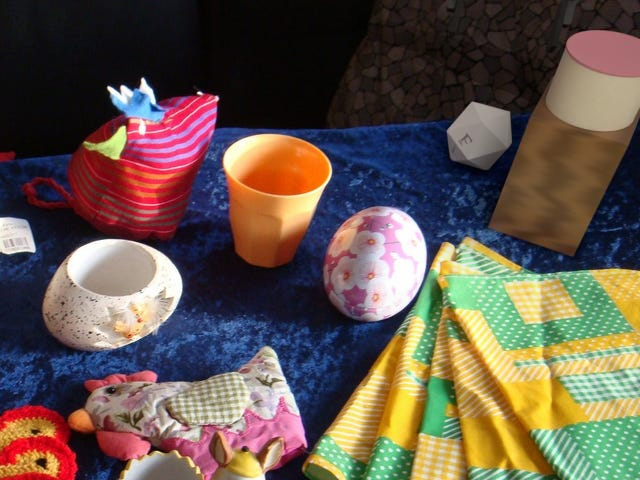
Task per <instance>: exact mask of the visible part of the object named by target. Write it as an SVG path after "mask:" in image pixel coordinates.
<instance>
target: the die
mask: <svg viewBox="0 0 640 480" xmlns="http://www.w3.org/2000/svg"><path fill="white" fill-rule="evenodd" d="M446 137H447V144H448V152H449V158H450V160H451V161H452V162H456V163H459V164H463V165H465V166H470V167H473V168H476V169H480V170H483V171H488V170H490V169H491V167H493V165H494V164H495V163H496V162H497V161H498V160H499V159H500V158H501V157H502V155H503V154H504V153H505V152H506V151H507V150H508V149H509V147H510V146H511V145H512V143H513V141H512V140H513V139H512V138H513V136H512V122H511V111H509V110H504V109H501V108H497V107H495V106H490V105H487V104H483V103H479V102H476V101H471V102H470V103H469V104H468V106H467V107H466V108H464V110H463V111H462V113H461V114H460V115H459V116H458V117H457V118H456V119H455V120H454V122H453V123H452V124H451V125H450V126H449V127H448V128H447V130H446Z"/></svg>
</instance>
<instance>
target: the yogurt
mask: <svg viewBox="0 0 640 480" xmlns="http://www.w3.org/2000/svg"><path fill="white" fill-rule="evenodd" d="M553 76H554V79H553V81H552V84H551V86H550V89H549V91H548V94H547V96H546V105H547V107H548V109H549V110H550V111H551V113H552V114H554V115H555V116H556V117H557V118H559V119H561V120H562V121H564V122H566V123H568V124H571V125H573V126H576V127H579V128H583V129H587V130H592V131H616V130H620V129H623V128H626V127H627V126H629V125H630V124H631V123H632V122H633V120H634V118H635V116H636V114H637V112H638V110H639V108H640V38H638V37H636V36H633V35H630V34H626V33H622V32H618V31H613V30H602V29H593V30H585V31H580V32H577V33H574V34H573V35H571V36H570V37H569V38H568V39H567V40H566V44H565V48H564V51H563V53H562V56H561V59H560V61H559V64H558V66H557V68H556V71H555V74H554V75H553Z"/></svg>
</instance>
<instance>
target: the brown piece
mask: <svg viewBox="0 0 640 480" xmlns="http://www.w3.org/2000/svg"><path fill="white" fill-rule="evenodd" d="M554 76H555V75H553V76H552V77H551V79H550V81H549V83H548V84H547V86H546V88H545V89H544V92H543V93H542V95H541V97H540V98H539V101H538V102H537V104H536V106H535V108H534V109H533V111H532V113H531V115H530V117H529V119H528V121H527V125H526V128H525V130H524V133H523V135H522V137H521V139H520V143H519V145H518V148H517V150H516V153H515V156H514V158H513V161H512V163H511V166H510V169H509V171H508V174H507V177H506V179H505V182H504V184H503V186H502V189H501V192H500V195H499V197H498V199H497V203H496V205H495V207H494V211H493V212H492V215H491V218H490V220H489V223H488V226H487V229H489V230H493V231H496V232H500V233H502V234H505V235H508V236H510V237H513V238H516V239H520V240H522V241H525V242H529V243H531V244H535V245H538V246H539V247H543V248H546V249H549V250H552V251H555V252H558V253H561V254H564V255H567V256H569V257H574V255H575V254H576V252H577V249H578V248H579V245H580V244H581V242H582V239H583V237H584V236H585V233H586V231H587V230H588V227H589V226H590V223H591V221H592V220H593V217H594V215H595V214H596V212H597V209H598V207H599V205H600V203H601V201H602V200H603V198H604V195H605V193H606V191H607V189H608V188H609V185H610V183H611V181H612V179H613V177H614V175H615V174H616V171H617V169H618V167H619V165H620V163H621V161H622V159H623V157H624V155H625V153H626V151H627V149H628V148H629V145H630V142H631V140H632V137H633V135H634V133H635V130H636V127H637V125H638V122H639V121H640V120H639V119H640V108H639V110H638V112H637V114H636V116H635V118H634V120H633V122H632V123H631V124H630V125H629V126H627V127H626V128H623V129H620V130H616V131H592V130H587V129H583V128H579V127H576V126H573V125H571V124H568V123H566V122H564V121H562V120H561V119H559V118H557V117H556V116H555V115H554V114H552V113H551V111H550V110H549V109H548V107H547V105H546V96H547V94H548V91H549V89H550V86H551V84H552V81H553V79H554Z"/></svg>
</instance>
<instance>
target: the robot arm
mask: <svg viewBox="0 0 640 480" xmlns="http://www.w3.org/2000/svg"><path fill="white" fill-rule="evenodd" d="M588 1H589V0H561V1H560V2H559V3H558V5H557V6H556V11H555V15H554V19H553V24H552V28H551V32H550V36H549V41H548V44H547V48H546V54H547V53H548V54H553V53H554V52H555V51H556V50H557V48H558V46H559V42H560V38H561V35H562V29H568V27H569V26H570V25H571V23H572V22H573V18H574V14H575V9H576V5H577V4H586V3H587V2H588ZM463 2H464V0H447V2H446V6H445V11H446V12H447V13H452V16H451V19H450V25H449V30H448V33H447V39H451V40H453V39H454V37H455V35H456V33H457V28H458V25H459V20H460V16H461V11H462V7H463Z"/></svg>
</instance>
